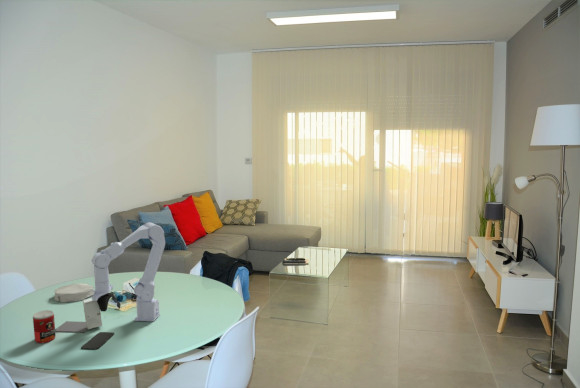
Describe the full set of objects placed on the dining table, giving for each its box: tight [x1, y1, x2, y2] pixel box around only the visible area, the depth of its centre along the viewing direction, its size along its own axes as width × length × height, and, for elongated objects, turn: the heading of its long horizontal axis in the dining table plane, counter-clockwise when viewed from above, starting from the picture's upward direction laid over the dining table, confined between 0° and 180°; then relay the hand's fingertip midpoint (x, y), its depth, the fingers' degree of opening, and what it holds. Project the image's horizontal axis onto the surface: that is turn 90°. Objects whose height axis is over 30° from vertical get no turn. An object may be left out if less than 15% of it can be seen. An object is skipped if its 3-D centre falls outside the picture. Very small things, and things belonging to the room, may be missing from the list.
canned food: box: [32, 310, 56, 344], centre depth 187 cm, size 8×8×11 cm
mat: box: [55, 320, 89, 334], centre depth 199 cm, size 14×10×1 cm
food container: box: [53, 283, 94, 303], centre depth 238 cm, size 20×20×7 cm
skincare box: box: [82, 297, 103, 330], centre depth 198 cm, size 6×4×12 cm
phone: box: [80, 331, 115, 351], centre depth 186 cm, size 7×1×15 cm
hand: (103, 310), depth 197 cm, fingers closed
